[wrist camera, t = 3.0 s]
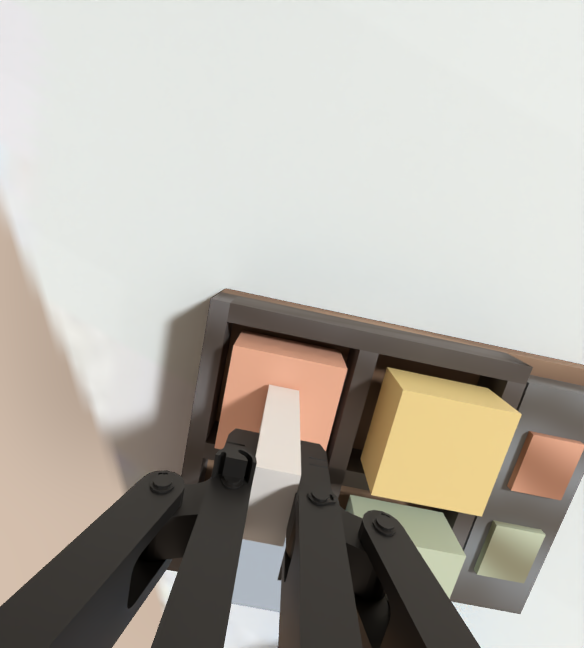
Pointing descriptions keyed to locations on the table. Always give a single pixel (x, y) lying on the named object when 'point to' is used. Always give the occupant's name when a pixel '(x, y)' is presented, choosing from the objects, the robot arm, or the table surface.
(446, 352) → the keypad
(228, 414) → the terracotta key
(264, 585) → the slate key
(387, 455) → the mustard key
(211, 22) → the table surface
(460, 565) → the sage key
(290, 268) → the table surface
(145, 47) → the table surface
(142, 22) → the table surface
